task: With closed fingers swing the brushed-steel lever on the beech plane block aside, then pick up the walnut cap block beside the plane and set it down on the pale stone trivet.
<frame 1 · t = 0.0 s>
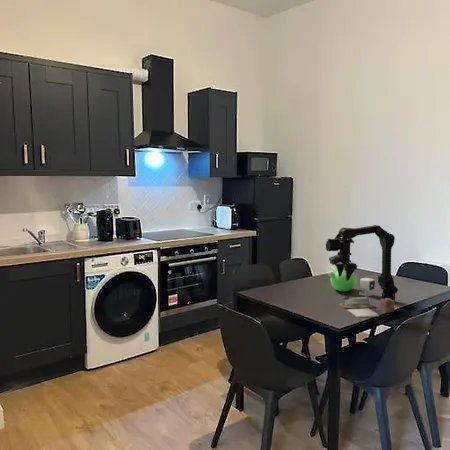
hand: (343, 278, 241), 15 cm above the table, fingers open, 9 cm apart
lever: (356, 300, 239), point 3 cm above the table, hinge at 0.0°
plane block: (356, 306, 240), on the table
cap block: (387, 310, 232), on the table
security camera: (366, 295, 261), on the table
toy bird: (342, 290, 271), on the table
trivet: (363, 313, 227), on the table
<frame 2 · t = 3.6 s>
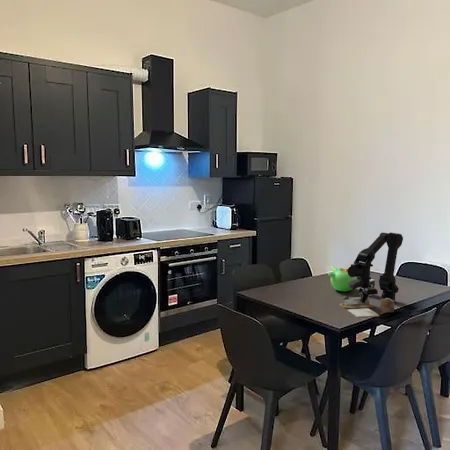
hand: (363, 302, 237), 2 cm above the table, fingers closed
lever: (356, 300, 239), point 3 cm above the table, hinge at 0.7°, touching gripper
everything else where it was.
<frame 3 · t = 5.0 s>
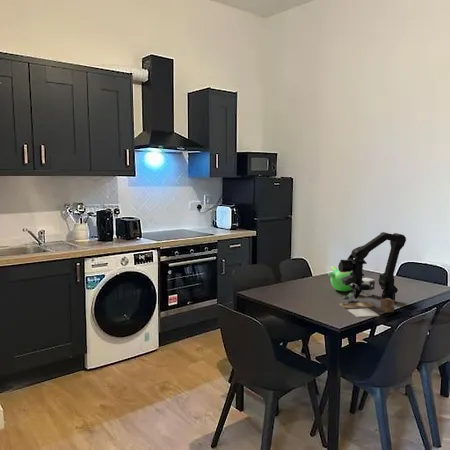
hand: (355, 298, 245), 3 cm above the table, fingers closed
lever: (349, 297, 243), point 3 cm above the table, hinge at 47.3°
everything else where it was.
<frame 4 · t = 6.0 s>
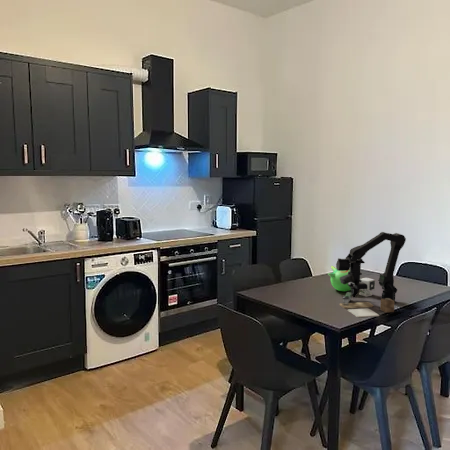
hand: (353, 297, 247), 3 cm above the table, fingers closed
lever: (347, 297, 244), point 3 cm above the table, hinge at 55.4°, touching gripper
everything else where it was.
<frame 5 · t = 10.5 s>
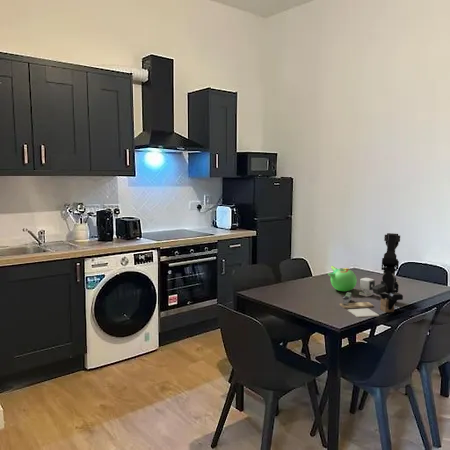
hand: (387, 308, 232), 1 cm above the table, fingers closed on cap block, 5 cm apart
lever: (347, 297, 244), point 3 cm above the table, hinge at 55.4°
cap block: (387, 310, 232), on the table, touching gripper
everything else where it was.
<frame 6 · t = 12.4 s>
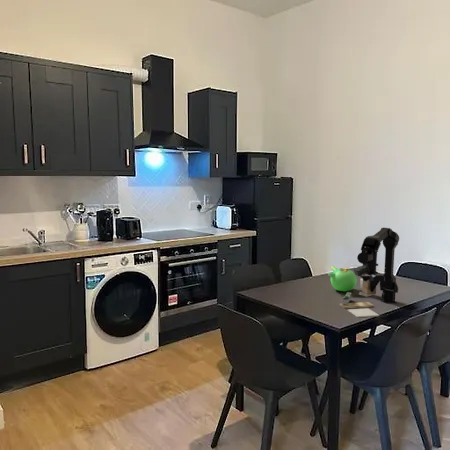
hand: (369, 290, 226), 12 cm above the table, fingers closed on cap block, 5 cm apart
cap block: (368, 293, 227), point 11 cm above the table, touching gripper
everything else where it was.
when the fingers open (3 cm above the table, at t = 14.6 s): cap block drops 1 cm, resting on trivet.
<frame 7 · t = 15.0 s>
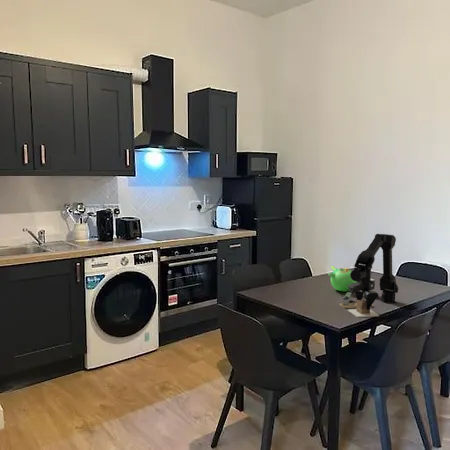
hand: (363, 307, 227), 3 cm above the table, fingers open, 9 cm apart
cap block: (363, 312, 227), point 1 cm above the table, touching trivet
everything else where it was.
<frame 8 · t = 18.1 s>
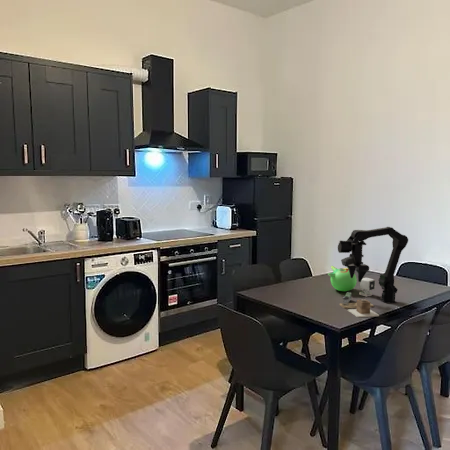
hand: (355, 279, 245), 13 cm above the table, fingers open, 9 cm apart
nothing on the table moved.
at the end: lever at +55° (first picture: +0°); cap block inside the target area on the trivet (0.0 cm from its centre), point 0.6 cm above the trivet's base; cap block tilted 0° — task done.
